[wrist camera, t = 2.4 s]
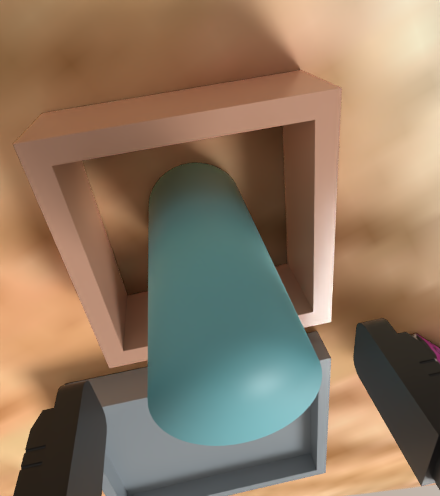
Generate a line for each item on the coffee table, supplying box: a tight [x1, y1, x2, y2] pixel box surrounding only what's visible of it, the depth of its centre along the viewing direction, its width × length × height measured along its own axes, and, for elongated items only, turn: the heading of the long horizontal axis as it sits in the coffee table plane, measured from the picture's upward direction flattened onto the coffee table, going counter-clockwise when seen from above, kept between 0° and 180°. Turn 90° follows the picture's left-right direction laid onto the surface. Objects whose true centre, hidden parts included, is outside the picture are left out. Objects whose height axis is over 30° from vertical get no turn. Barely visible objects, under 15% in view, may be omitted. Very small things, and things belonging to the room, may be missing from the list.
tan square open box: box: [13, 70, 342, 368], centre depth 19 cm, size 12×12×4 cm
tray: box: [65, 331, 331, 496], centre depth 30 cm, size 18×15×2 cm
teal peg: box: [147, 163, 322, 446], centre depth 16 cm, size 5×5×12 cm
